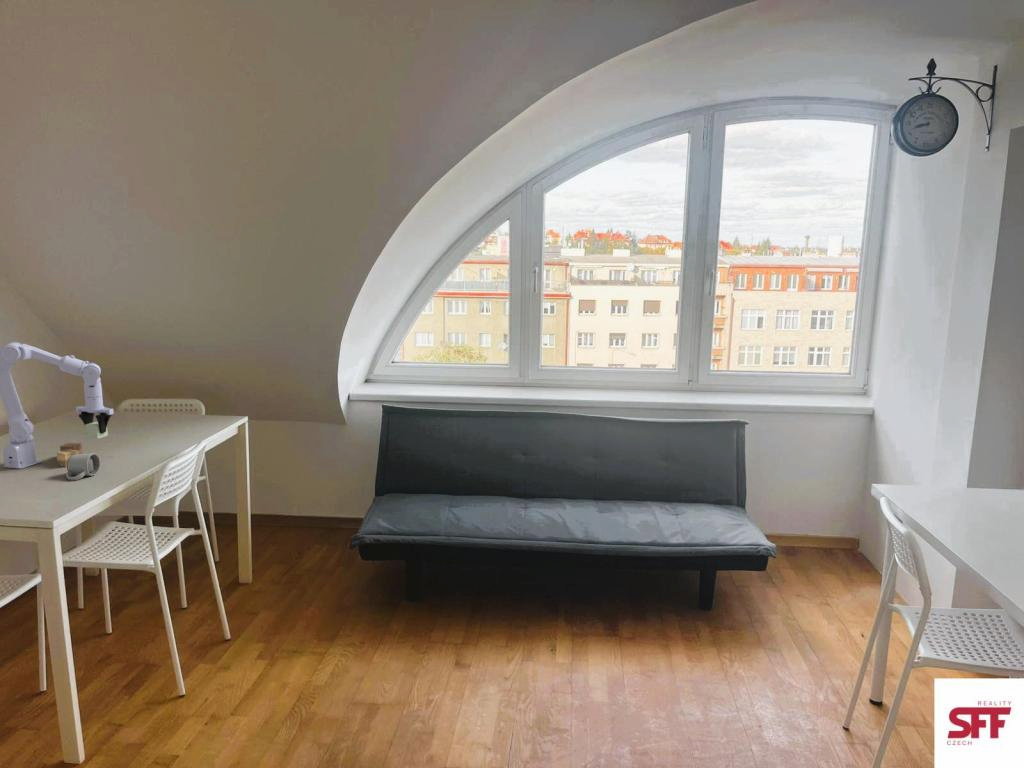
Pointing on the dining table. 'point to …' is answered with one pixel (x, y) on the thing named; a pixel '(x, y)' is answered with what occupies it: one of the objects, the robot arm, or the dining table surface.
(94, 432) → the sage block
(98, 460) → the ceramic mug
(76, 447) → the walnut block
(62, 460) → the oak block
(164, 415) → the dining table surface
